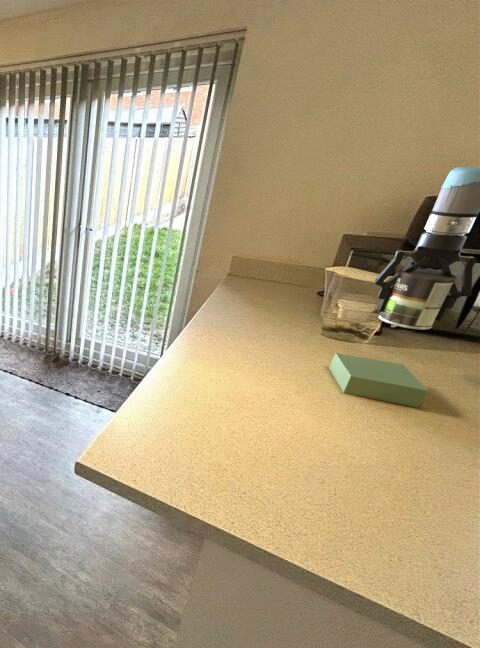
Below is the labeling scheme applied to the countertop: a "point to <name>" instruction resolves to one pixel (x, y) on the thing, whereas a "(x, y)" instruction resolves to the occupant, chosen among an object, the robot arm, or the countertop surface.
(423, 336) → the countertop surface
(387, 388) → the riser block
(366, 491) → the countertop surface
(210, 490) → the countertop surface
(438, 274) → the coffee can
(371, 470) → the countertop surface
